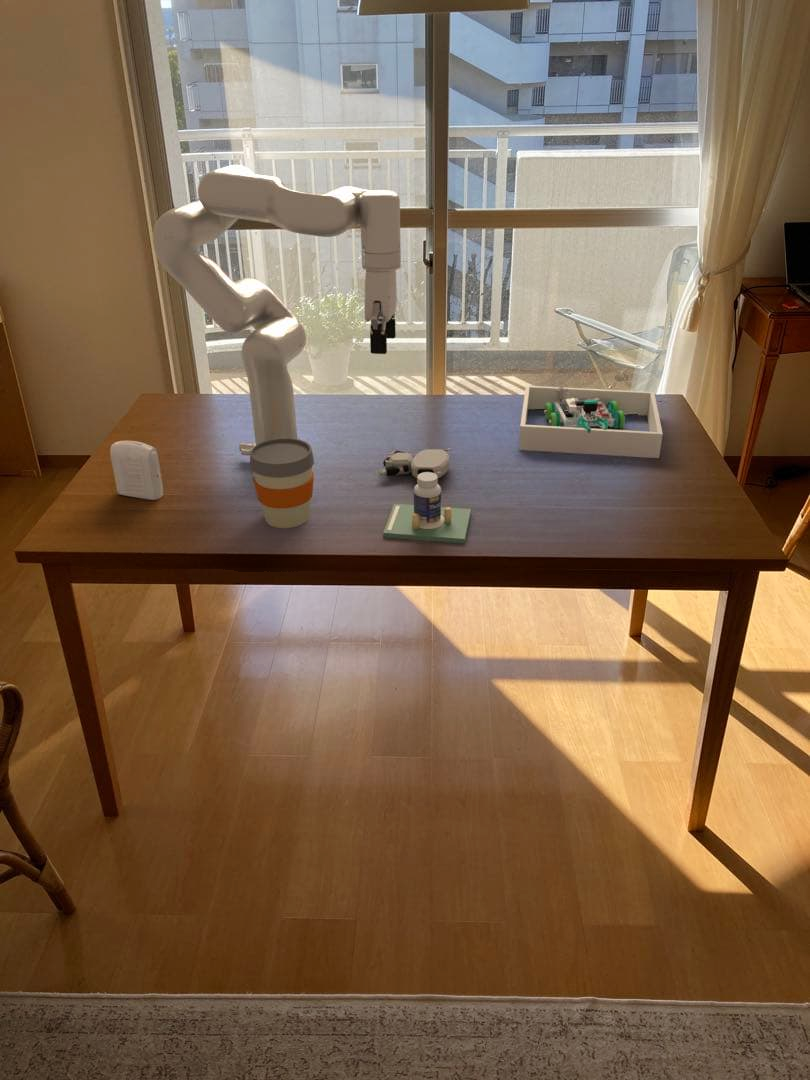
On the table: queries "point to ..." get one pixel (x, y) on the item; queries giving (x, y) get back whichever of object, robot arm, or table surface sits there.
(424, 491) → the pill bottle
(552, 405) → the robot kit
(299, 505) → the reusable coffee cup
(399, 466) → the robot toy
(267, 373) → the robot arm
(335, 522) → the table surface
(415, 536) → the board
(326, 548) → the table surface
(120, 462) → the photo printer
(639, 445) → the storage frame
